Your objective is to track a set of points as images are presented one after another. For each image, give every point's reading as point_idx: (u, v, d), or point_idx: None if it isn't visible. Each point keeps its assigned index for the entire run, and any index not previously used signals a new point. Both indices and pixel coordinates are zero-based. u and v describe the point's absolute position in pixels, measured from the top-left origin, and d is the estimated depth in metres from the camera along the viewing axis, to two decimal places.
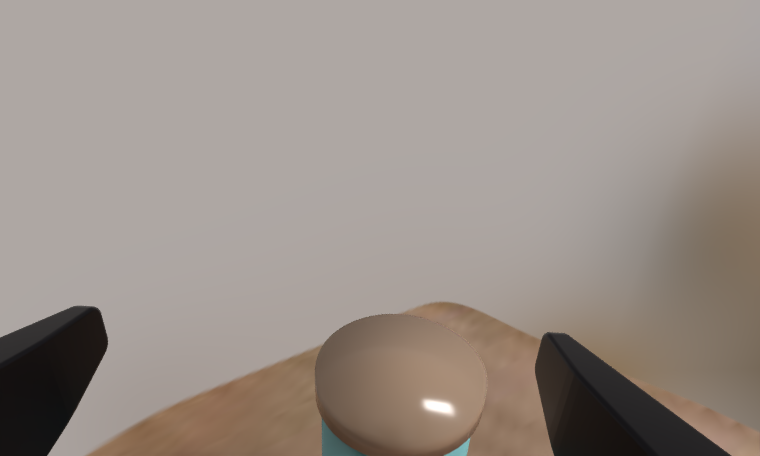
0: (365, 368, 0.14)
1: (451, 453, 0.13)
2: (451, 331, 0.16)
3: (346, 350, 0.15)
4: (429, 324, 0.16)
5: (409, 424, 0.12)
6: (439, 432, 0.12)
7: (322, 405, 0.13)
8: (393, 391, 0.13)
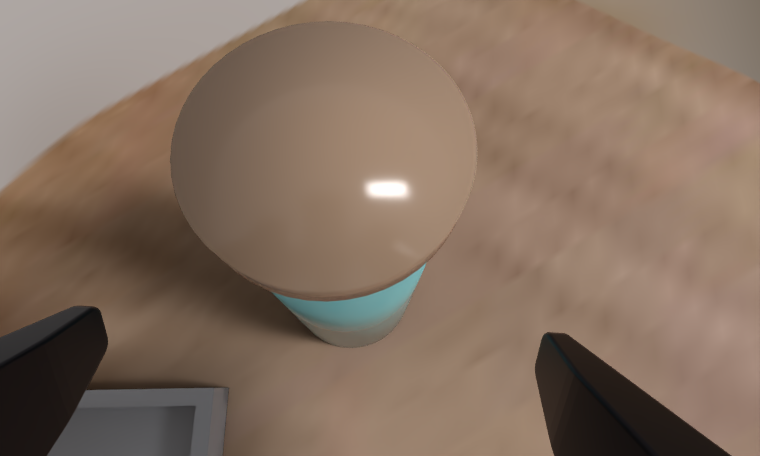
0: (261, 150, 0.08)
1: None
2: (423, 55, 0.09)
3: (226, 110, 0.08)
4: (383, 42, 0.09)
5: (334, 260, 0.07)
6: (384, 270, 0.07)
7: None
8: (309, 196, 0.08)
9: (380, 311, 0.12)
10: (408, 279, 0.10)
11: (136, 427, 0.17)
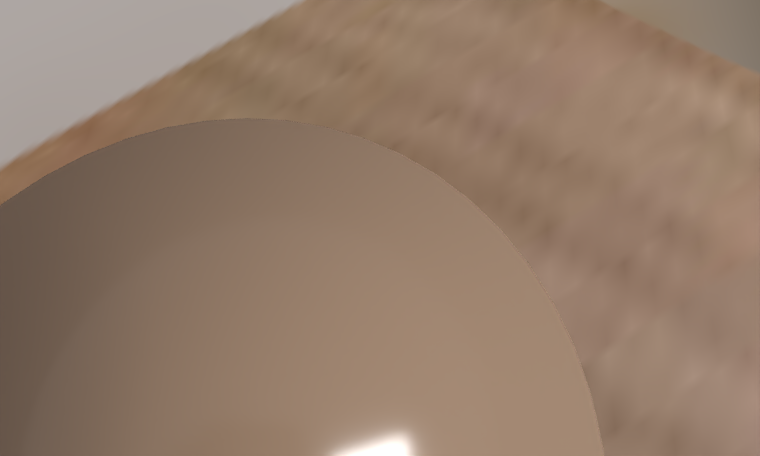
0: None
1: None
2: (459, 203, 0.04)
3: None
4: (368, 170, 0.04)
5: None
6: None
7: None
8: None
9: None
10: None
11: None
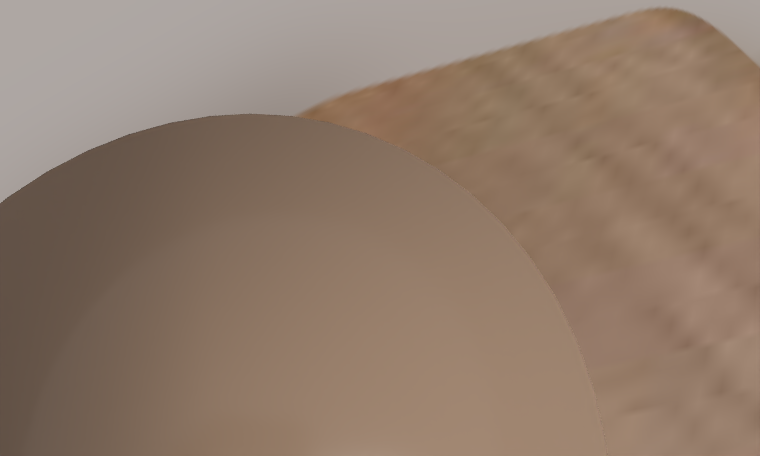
0: None
1: None
2: (462, 198, 0.04)
3: None
4: (371, 166, 0.04)
5: None
6: None
7: None
8: None
9: None
10: None
11: None
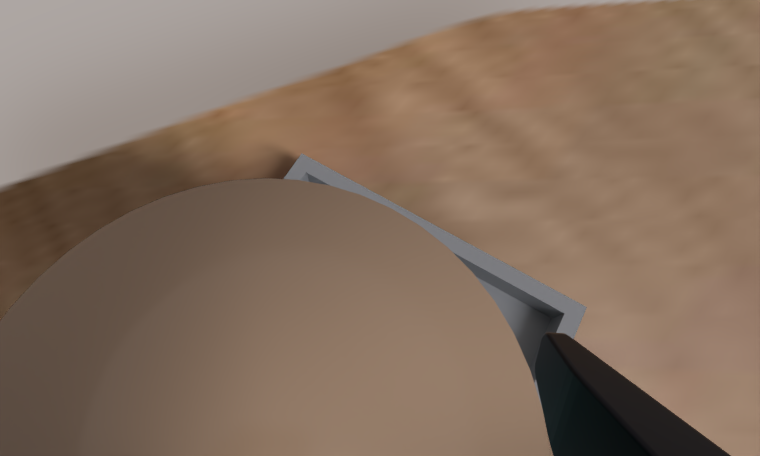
0: None
1: None
2: (440, 250, 0.05)
3: (50, 388, 0.04)
4: (365, 223, 0.05)
5: None
6: None
7: None
8: None
9: None
10: None
11: None
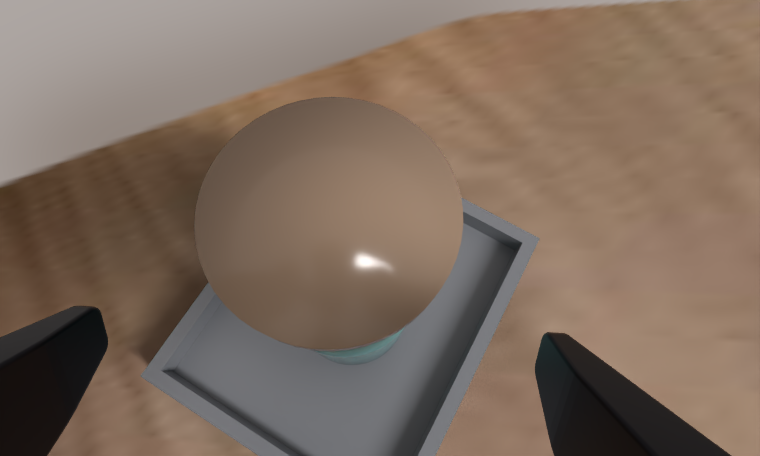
0: (273, 219, 0.09)
1: None
2: (416, 129, 0.10)
3: (243, 183, 0.09)
4: (380, 116, 0.10)
5: (337, 320, 0.08)
6: (381, 329, 0.08)
7: None
8: (316, 261, 0.09)
9: (378, 344, 0.13)
10: None
11: None
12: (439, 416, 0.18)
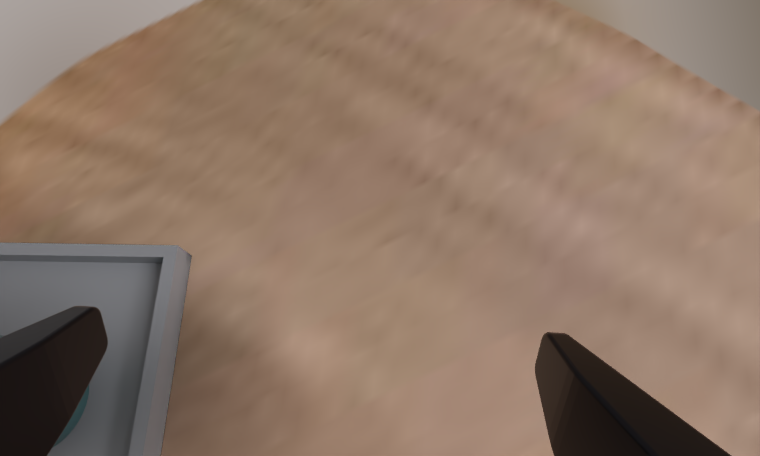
0: None
1: None
2: None
3: None
4: None
5: None
6: None
7: None
8: None
9: None
10: None
11: (119, 277, 0.23)
12: (131, 453, 0.19)
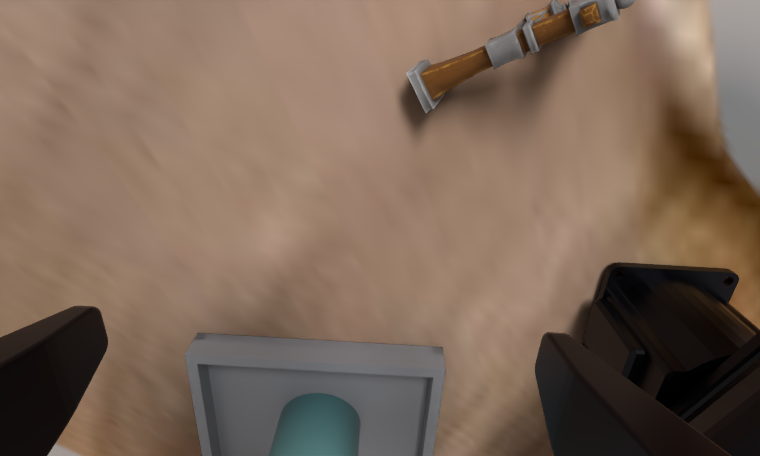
0: None
1: None
2: None
3: None
4: None
5: None
6: None
7: None
8: None
9: None
10: None
11: (223, 383, 0.26)
12: (355, 371, 0.24)
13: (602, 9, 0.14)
